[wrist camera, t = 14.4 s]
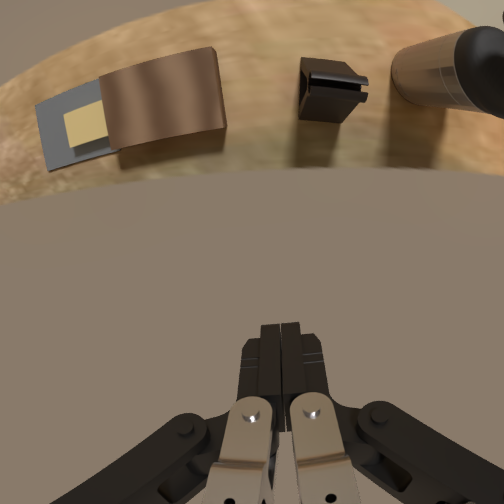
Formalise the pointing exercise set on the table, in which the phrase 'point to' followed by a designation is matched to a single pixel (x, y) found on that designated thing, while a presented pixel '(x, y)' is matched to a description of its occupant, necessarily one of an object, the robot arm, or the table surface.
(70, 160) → the mat
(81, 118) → the yellow block
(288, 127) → the table surface
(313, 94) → the phone stand
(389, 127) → the table surface
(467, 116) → the table surface
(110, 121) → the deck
